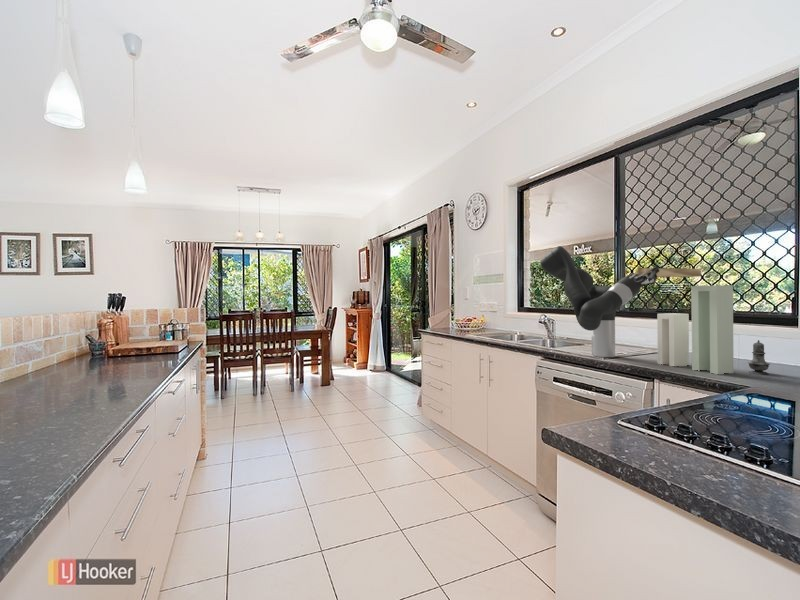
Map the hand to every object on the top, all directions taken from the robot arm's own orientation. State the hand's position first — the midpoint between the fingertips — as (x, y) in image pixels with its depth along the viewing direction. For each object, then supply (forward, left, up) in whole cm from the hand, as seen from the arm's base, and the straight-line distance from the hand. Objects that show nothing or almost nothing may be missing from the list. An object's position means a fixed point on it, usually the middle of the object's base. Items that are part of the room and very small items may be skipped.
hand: (652, 268), depth 142 cm
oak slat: (0, +9, -3) cm, 9 cm away
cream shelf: (-8, +20, -39) cm, 44 cm away
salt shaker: (+15, +32, -39) cm, 52 cm away
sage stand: (+7, +20, -39) cm, 44 cm away
